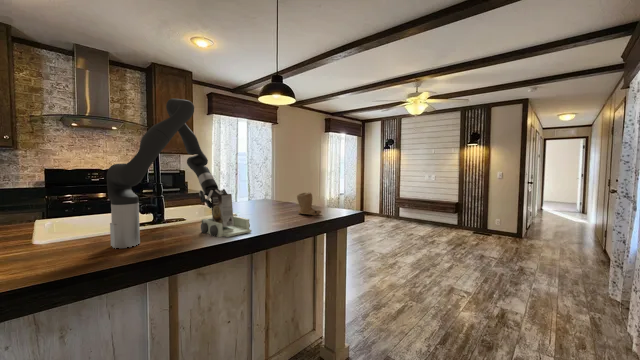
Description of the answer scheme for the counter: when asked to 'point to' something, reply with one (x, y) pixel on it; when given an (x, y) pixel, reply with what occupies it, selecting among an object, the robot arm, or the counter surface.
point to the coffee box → (222, 209)
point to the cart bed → (218, 230)
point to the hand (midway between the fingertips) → (219, 206)
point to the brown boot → (306, 204)
